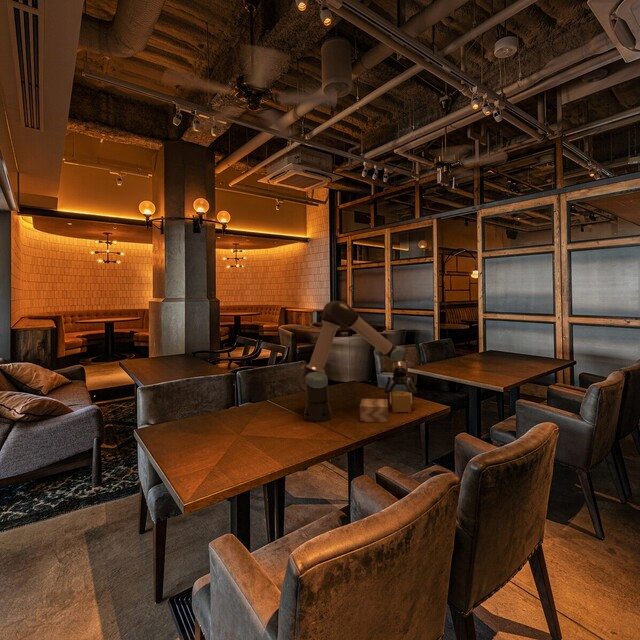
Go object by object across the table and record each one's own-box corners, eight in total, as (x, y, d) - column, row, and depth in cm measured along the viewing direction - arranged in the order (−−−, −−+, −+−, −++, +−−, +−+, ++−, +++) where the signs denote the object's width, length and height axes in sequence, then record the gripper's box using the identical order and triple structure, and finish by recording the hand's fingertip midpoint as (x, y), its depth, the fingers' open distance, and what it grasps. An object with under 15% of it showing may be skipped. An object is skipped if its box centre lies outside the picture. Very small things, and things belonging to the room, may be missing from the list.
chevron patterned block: (360, 421, 192) (359, 406, 191) (362, 412, 206) (361, 398, 205) (387, 422, 189) (387, 406, 189) (388, 413, 203) (387, 399, 203)
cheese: (409, 407, 213) (409, 390, 212) (411, 413, 202) (411, 395, 201) (391, 407, 214) (390, 390, 213) (392, 413, 203) (391, 395, 203)
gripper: (419, 373, 220) (422, 407, 206) (380, 373, 225) (380, 407, 210) (420, 366, 215) (422, 401, 201) (379, 366, 219) (379, 400, 205)
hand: (400, 404), depth 205 cm, fingers closed on cheese, 10 cm apart
